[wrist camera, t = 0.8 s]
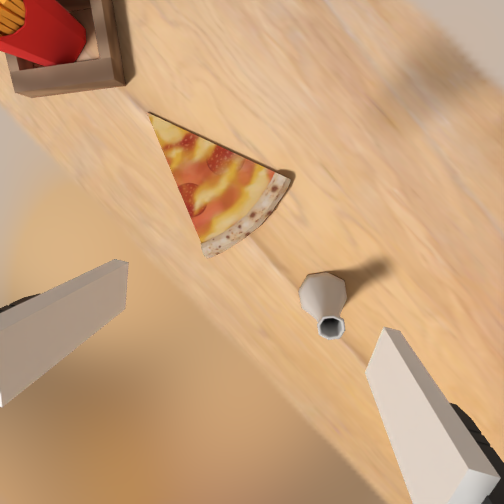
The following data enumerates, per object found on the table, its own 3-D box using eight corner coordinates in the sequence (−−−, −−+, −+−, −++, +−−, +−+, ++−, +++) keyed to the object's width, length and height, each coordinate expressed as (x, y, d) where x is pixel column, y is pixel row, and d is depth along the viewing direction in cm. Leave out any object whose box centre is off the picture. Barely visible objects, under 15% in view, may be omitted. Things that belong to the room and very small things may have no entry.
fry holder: (8, 0, 37) (-12, -13, 34) (109, -20, 35) (95, -35, 32) (31, 97, 40) (14, 92, 37) (125, 85, 38) (114, 79, 35)
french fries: (62, 83, 39) (-47, 36, 26) (39, 59, 38) (-82, 1, 26) (97, 25, 36) (-5, -56, 24) (73, 0, 36) (-44, -96, 23)
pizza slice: (252, 62, 35) (249, 56, 33) (305, 223, 39) (306, 225, 37) (149, 113, 39) (142, 110, 37) (209, 256, 43) (205, 260, 41)
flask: (302, 267, 41) (305, 294, 31) (351, 275, 40) (370, 304, 30) (294, 311, 43) (295, 349, 33) (341, 319, 42) (356, 360, 32)
